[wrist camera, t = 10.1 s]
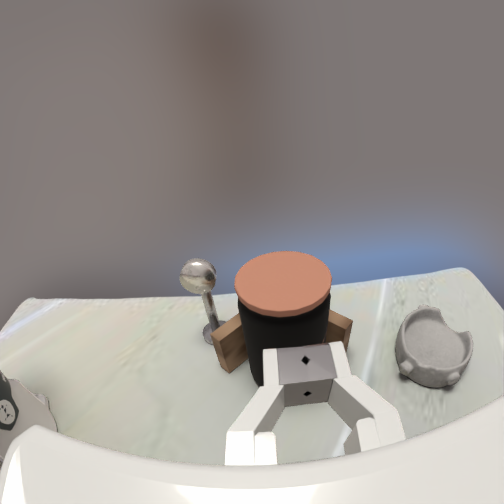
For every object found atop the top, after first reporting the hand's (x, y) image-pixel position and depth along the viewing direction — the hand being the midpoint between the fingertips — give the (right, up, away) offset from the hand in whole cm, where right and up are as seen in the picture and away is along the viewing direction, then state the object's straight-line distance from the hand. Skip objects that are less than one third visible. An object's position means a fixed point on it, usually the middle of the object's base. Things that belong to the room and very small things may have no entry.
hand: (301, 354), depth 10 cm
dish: (+27, -13, +26) cm, 40 cm away
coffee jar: (+3, -14, +29) cm, 33 cm away
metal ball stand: (-8, -10, +37) cm, 39 cm away
